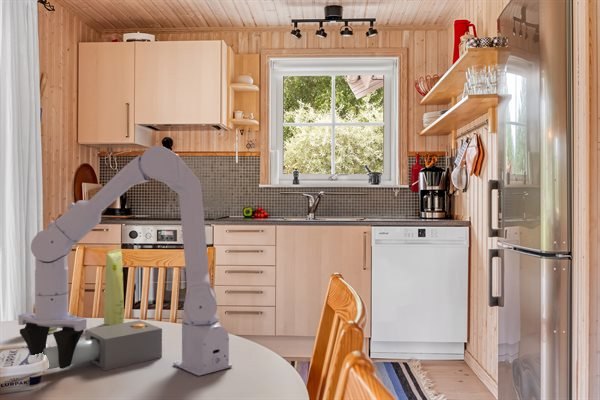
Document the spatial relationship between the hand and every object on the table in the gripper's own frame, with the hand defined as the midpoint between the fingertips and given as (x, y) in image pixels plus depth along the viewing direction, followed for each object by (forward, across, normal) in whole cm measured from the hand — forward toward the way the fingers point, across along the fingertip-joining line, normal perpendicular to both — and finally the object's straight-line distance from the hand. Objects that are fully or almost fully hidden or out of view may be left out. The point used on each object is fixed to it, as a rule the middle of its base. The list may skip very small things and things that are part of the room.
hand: (51, 365), depth 99 cm
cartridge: (+1, -2, -5) cm, 5 cm away
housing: (+2, -6, -13) cm, 14 cm away
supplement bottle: (+2, +25, -23) cm, 34 cm away
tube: (+2, +15, -36) cm, 39 cm away
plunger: (-1, -8, -16) cm, 18 cm away
